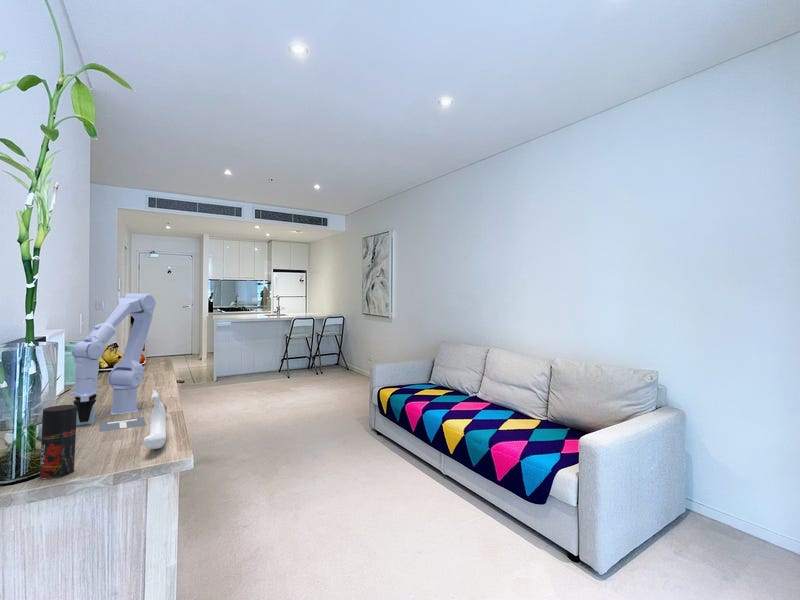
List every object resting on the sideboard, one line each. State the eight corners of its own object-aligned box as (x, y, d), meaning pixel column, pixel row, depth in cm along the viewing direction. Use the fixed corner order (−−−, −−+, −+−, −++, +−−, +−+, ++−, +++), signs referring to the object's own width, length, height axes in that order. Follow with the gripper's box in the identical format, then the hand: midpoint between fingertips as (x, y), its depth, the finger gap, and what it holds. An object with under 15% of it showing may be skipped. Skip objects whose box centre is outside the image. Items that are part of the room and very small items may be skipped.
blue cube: (74, 423, 126) (75, 408, 126) (94, 421, 129) (94, 406, 129) (73, 427, 122) (74, 411, 122) (93, 425, 125) (94, 409, 125)
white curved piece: (141, 460, 96) (144, 402, 97) (147, 438, 113) (149, 388, 113) (164, 457, 99) (167, 400, 99) (166, 436, 115) (168, 387, 116)
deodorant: (80, 469, 91) (84, 405, 91) (55, 480, 85) (59, 411, 85) (58, 467, 91) (61, 404, 92) (31, 478, 85) (35, 410, 86)
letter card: (99, 423, 126) (99, 422, 126) (143, 418, 133) (143, 416, 133) (99, 433, 116) (99, 431, 116) (146, 427, 123) (146, 425, 123)
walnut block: (152, 405, 132) (164, 404, 134) (152, 420, 131) (164, 418, 134) (154, 408, 128) (166, 407, 130) (153, 423, 127) (166, 422, 130)
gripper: (72, 375, 129) (69, 416, 128) (68, 382, 117) (66, 427, 117) (98, 374, 133) (96, 413, 133) (97, 380, 122) (95, 423, 121)
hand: (84, 419), depth 125 cm, fingers open, 5 cm apart
